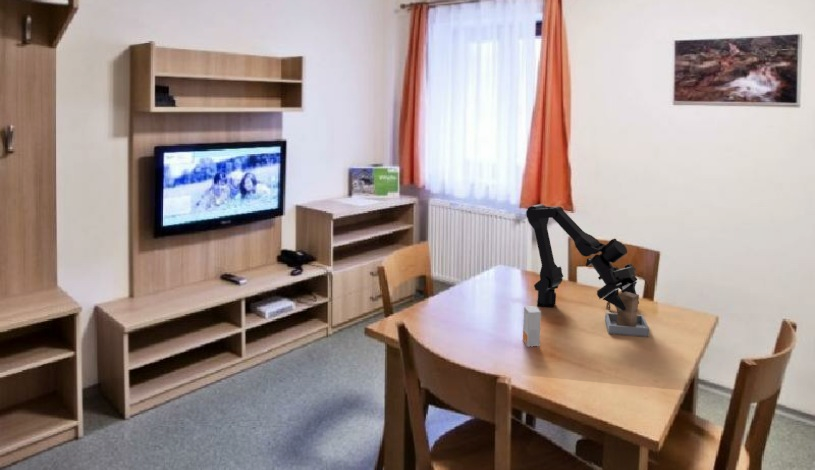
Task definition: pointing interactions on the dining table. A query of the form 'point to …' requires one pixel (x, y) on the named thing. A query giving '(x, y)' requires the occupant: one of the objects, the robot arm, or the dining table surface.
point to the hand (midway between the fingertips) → (631, 307)
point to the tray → (613, 328)
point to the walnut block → (628, 309)
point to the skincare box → (531, 326)
